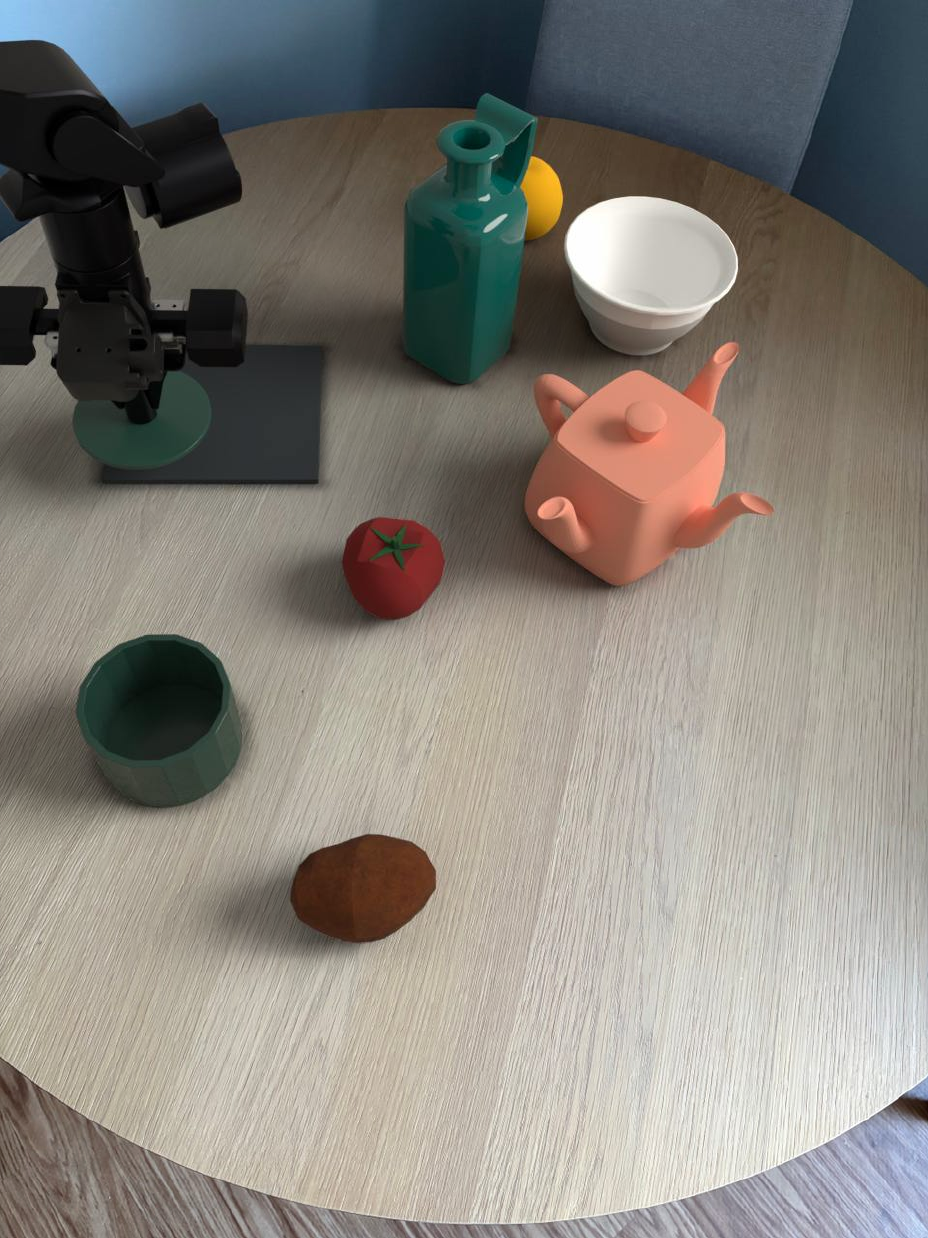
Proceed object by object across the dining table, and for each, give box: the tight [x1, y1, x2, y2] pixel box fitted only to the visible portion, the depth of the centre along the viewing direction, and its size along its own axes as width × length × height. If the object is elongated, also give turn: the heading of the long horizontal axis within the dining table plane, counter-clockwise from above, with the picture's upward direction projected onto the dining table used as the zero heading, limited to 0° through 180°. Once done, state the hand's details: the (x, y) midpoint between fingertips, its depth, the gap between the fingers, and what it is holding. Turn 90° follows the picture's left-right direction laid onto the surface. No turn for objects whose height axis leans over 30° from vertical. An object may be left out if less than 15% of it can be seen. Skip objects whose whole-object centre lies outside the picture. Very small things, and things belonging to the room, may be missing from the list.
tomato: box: [340, 516, 446, 621], centre depth 81 cm, size 8×8×7 cm
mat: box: [101, 344, 324, 485], centre depth 93 cm, size 18×16×1 cm
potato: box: [289, 833, 437, 944], centre depth 68 cm, size 7×9×6 cm
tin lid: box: [71, 371, 212, 470], centre depth 84 cm, size 11×11×6 cm
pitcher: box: [402, 92, 539, 385], centre depth 90 cm, size 10×8×22 cm
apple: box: [520, 155, 564, 241], centre depth 106 cm, size 8×8×8 cm
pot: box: [524, 341, 775, 587], centre depth 84 cm, size 18×17×12 cm
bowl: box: [563, 195, 739, 356], centre depth 99 cm, size 16×16×8 cm
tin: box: [75, 633, 243, 808], centre depth 73 cm, size 10×10×7 cm
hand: (139, 405), depth 85 cm, fingers closed on tin lid, 2 cm apart
